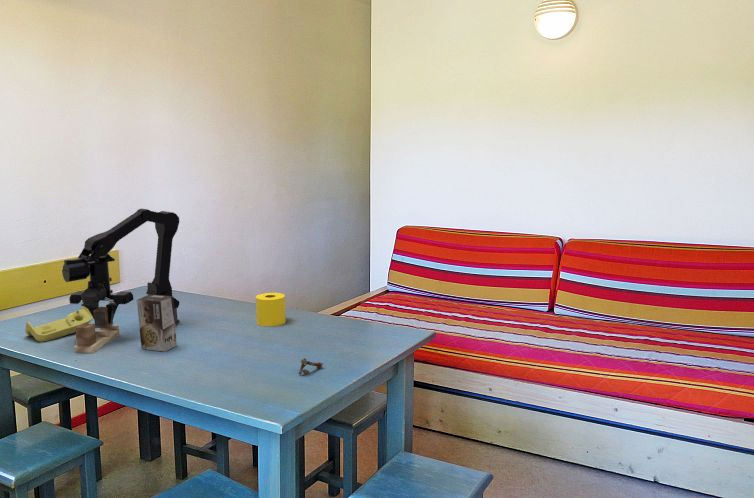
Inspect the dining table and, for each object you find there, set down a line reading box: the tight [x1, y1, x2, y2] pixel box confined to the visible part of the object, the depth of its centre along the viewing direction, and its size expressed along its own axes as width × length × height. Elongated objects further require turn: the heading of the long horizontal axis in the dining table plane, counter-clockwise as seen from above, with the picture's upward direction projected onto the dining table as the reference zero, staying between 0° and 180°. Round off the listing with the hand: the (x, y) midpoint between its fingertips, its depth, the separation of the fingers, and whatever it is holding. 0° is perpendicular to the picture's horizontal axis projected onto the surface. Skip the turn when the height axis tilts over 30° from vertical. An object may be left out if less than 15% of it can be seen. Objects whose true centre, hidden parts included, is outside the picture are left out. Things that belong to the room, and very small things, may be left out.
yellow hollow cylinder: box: [255, 292, 286, 327], centre depth 221 cm, size 10×10×9 cm
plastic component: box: [24, 306, 94, 343], centre depth 211 cm, size 20×7×10 cm
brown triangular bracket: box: [298, 358, 324, 375], centre depth 175 cm, size 2×8×4 cm, turn 138°
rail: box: [73, 323, 121, 354], centre depth 199 cm, size 6×17×8 cm, turn 176°
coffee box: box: [136, 294, 178, 352], centre depth 195 cm, size 9×6×16 cm
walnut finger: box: [93, 306, 114, 329], centre depth 203 cm, size 4×5×6 cm
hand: (103, 323), depth 204 cm, fingers closed on walnut finger, 4 cm apart
